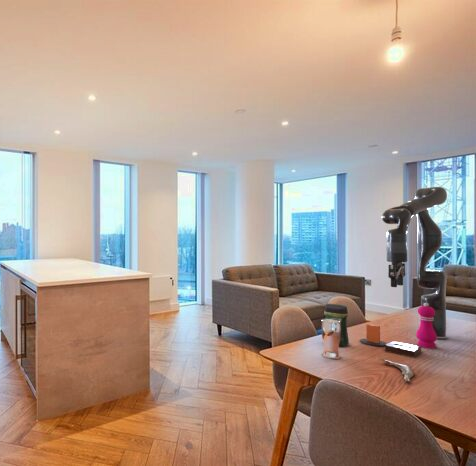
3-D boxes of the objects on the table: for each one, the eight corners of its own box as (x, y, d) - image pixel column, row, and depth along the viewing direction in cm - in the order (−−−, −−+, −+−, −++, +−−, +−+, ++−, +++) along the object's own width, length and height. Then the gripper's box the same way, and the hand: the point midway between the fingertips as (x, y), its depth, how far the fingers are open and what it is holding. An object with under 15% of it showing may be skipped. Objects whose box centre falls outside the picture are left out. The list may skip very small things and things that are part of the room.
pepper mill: (441, 349, 150) (440, 304, 150) (422, 348, 151) (422, 303, 151) (430, 344, 157) (429, 301, 157) (412, 343, 158) (412, 300, 159)
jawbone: (401, 365, 132) (402, 360, 132) (437, 389, 112) (438, 383, 112) (376, 361, 134) (376, 356, 134) (407, 384, 114) (407, 378, 114)
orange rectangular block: (367, 340, 161) (367, 323, 161) (380, 343, 157) (380, 325, 157) (366, 340, 160) (366, 324, 160) (379, 343, 156) (378, 326, 156)
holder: (392, 346, 154) (392, 340, 154) (421, 352, 146) (421, 346, 146) (385, 350, 148) (385, 345, 148) (414, 357, 140) (414, 351, 140)
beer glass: (338, 354, 143) (338, 319, 143) (343, 360, 136) (342, 323, 137) (319, 352, 145) (319, 318, 145) (323, 358, 139) (323, 322, 139)
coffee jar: (349, 343, 157) (349, 304, 157) (347, 348, 151) (347, 307, 151) (326, 339, 164) (326, 301, 164) (322, 343, 158) (322, 304, 158)
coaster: (365, 338, 165) (365, 337, 165) (389, 343, 157) (389, 342, 157) (356, 342, 159) (356, 341, 159) (382, 348, 151) (382, 346, 151)
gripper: (401, 252, 149) (402, 288, 149) (411, 251, 157) (412, 285, 157) (381, 252, 155) (381, 286, 155) (392, 250, 164) (392, 283, 164)
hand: (397, 286), depth 156 cm, fingers open, 8 cm apart
